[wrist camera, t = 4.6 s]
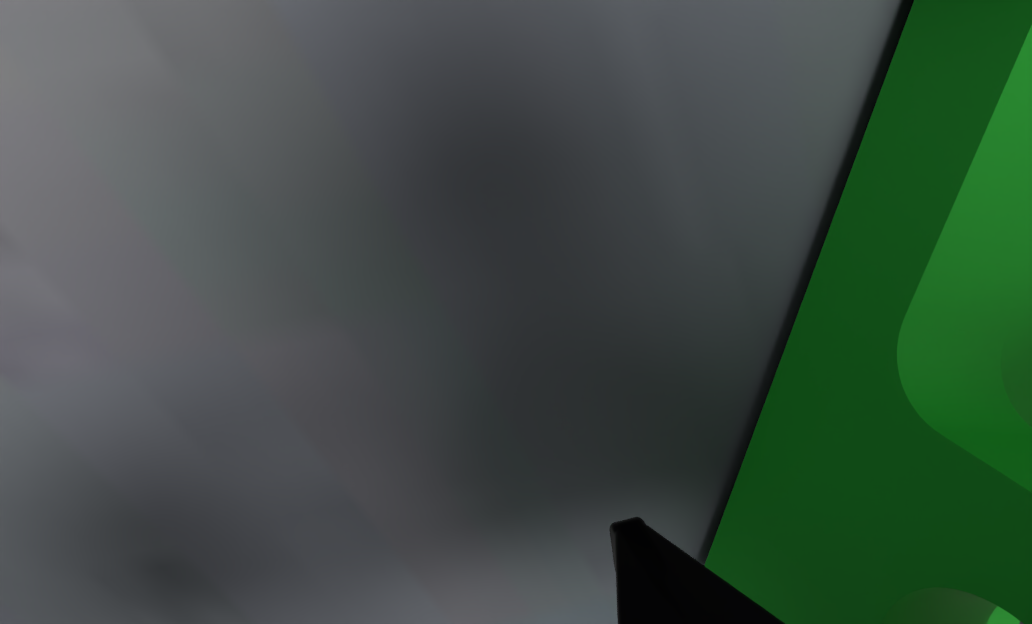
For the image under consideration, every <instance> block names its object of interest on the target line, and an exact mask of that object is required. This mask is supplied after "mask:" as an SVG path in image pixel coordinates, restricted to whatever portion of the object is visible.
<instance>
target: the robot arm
mask: <svg viewBox="0 0 1032 624" xmlns="http://www.w3.org/2000/svg"><path fill="white" fill-rule="evenodd" d="M610 538H611V545H612V552H613V560H614V566H615V571H616V587H617V615H618V624H785V623H784V622H783V621H781V620H780V619H778V618H777V617H775V616H774V615H773V614H771V613H770V612H768V611H767V610H766V609H764V608H763V607H761V606H760V605H759V604H757V603H756V602H754V601H753V600H752V599H750V598H749V597H747V596H746V595H745V594H743V593H742V592H740V591H739V590H737V589H736V588H735V587H733V586H732V585H730V584H729V583H728V582H726V581H725V580H723V579H722V578H721V577H719V576H718V575H716V574H715V573H714V572H712V571H711V570H709V569H708V568H707V567H705V566H704V565H702V564H701V563H699V562H698V561H697V560H695V559H694V558H692V557H691V556H690V555H688V554H687V553H685V552H684V551H683V550H681V549H680V548H678V547H677V546H676V545H674V544H673V543H671V542H670V541H669V540H667V539H666V538H664V537H663V536H661V535H660V534H659V533H657V532H656V531H654V530H653V529H652V528H650V527H649V526H647V525H646V524H645V522H644V521H643V520H642V519H641V518H639V517H634V518H630V519H626V520H622V521H618V522H614V523H612V525H611V526H610Z"/></svg>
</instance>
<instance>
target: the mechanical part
mask: <svg viewBox="0 0 1032 624" xmlns="http://www.w3.org/2000/svg"><path fill="white" fill-rule="evenodd" d="M704 566H705V567H707V568H708V569H709V570H711V571H712V572H714V573H715V574H716V575H718V576H719V577H721V578H722V579H723V580H725V581H726V582H728V583H729V584H730V585H732V586H733V587H735V588H736V589H737V590H739V591H740V592H742V593H743V594H745V595H746V596H747V597H749V598H750V599H752V600H753V601H754V602H756V603H757V604H759V605H760V606H761V607H763V608H764V609H766V610H767V611H768V612H770V613H771V614H773V615H774V616H775V617H777V618H778V619H780V620H781V621H783V622H784V623H785V624H1019V623H1020V621H1021V622H1022V623H1023V624H1032V0H914V2H913V5H912V7H911V10H910V13H909V16H908V18H907V21H906V24H905V26H904V29H903V32H902V34H901V37H900V40H899V43H898V45H897V48H896V51H895V53H894V56H893V59H892V61H891V64H890V67H889V69H888V72H887V75H886V78H885V80H884V83H883V86H882V88H881V91H880V94H879V96H878V99H877V102H876V104H875V107H874V110H873V113H872V115H871V118H870V121H869V123H868V126H867V129H866V131H865V134H864V137H863V139H862V142H861V145H860V148H859V150H858V153H857V156H856V158H855V161H854V164H853V166H852V169H851V172H850V175H849V177H848V180H847V183H846V185H845V188H844V191H843V193H842V196H841V199H840V201H839V204H838V207H837V210H836V212H835V215H834V218H833V220H832V223H831V226H830V228H829V231H828V234H827V236H826V239H825V242H824V245H823V247H822V250H821V253H820V255H819V258H818V261H817V263H816V266H815V269H814V271H813V274H812V277H811V280H810V282H809V285H808V288H807V290H806V293H805V296H804V298H803V301H802V304H801V307H800V309H799V312H798V315H797V317H796V320H795V323H794V325H793V328H792V331H791V333H790V336H789V339H788V342H787V344H786V347H785V350H784V352H783V355H782V358H781V360H780V363H779V366H778V368H777V371H776V374H775V377H774V379H773V382H772V385H771V387H770V390H769V393H768V395H767V398H766V401H765V404H764V406H763V409H762V412H761V414H760V417H759V420H758V422H757V425H756V428H755V430H754V433H753V436H752V439H751V441H750V444H749V447H748V449H747V452H746V455H745V457H744V460H743V463H742V465H741V468H740V471H739V474H738V476H737V479H736V482H735V484H734V487H733V490H732V492H731V495H730V498H729V500H728V503H727V506H726V509H725V511H724V514H723V517H722V519H721V522H720V525H719V527H718V530H717V533H716V536H715V538H714V541H713V544H712V546H711V549H710V552H709V554H708V557H707V560H706V562H705V565H704Z"/></svg>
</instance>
